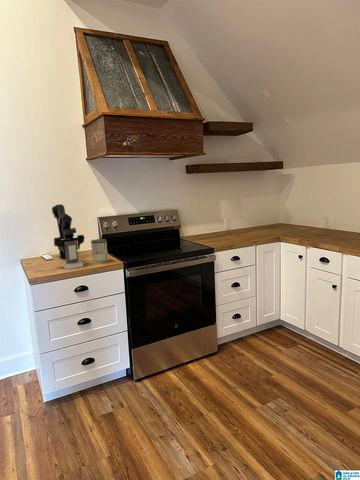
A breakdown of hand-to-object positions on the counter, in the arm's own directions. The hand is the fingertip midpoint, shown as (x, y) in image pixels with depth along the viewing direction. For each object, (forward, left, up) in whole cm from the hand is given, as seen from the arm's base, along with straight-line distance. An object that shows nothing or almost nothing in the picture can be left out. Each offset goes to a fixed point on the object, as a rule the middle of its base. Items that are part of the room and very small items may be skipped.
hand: (71, 250), depth 225 cm
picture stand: (0, -1, -10) cm, 11 cm away
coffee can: (-20, +1, -11) cm, 23 cm away
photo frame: (0, -1, -8) cm, 9 cm away
